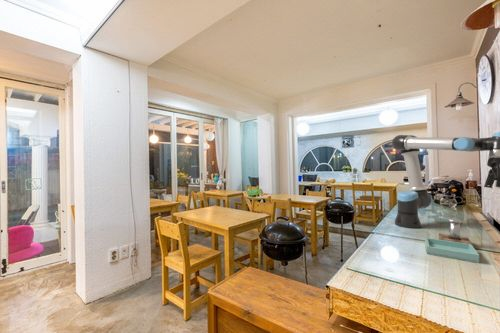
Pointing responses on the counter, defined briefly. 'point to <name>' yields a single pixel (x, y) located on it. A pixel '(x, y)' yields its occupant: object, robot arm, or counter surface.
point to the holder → (447, 238)
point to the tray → (451, 250)
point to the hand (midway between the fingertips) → (491, 196)
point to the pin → (455, 228)
